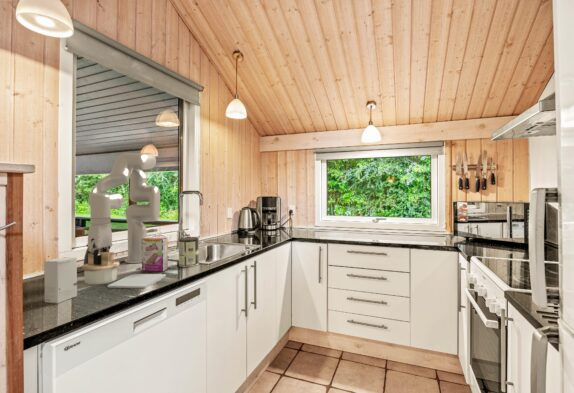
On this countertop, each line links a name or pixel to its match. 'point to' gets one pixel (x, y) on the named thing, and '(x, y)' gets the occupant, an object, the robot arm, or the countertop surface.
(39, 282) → the countertop surface
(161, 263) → the candy bar box
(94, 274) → the bowl
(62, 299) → the skincare box
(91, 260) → the lid
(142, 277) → the mat
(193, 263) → the coffee can
